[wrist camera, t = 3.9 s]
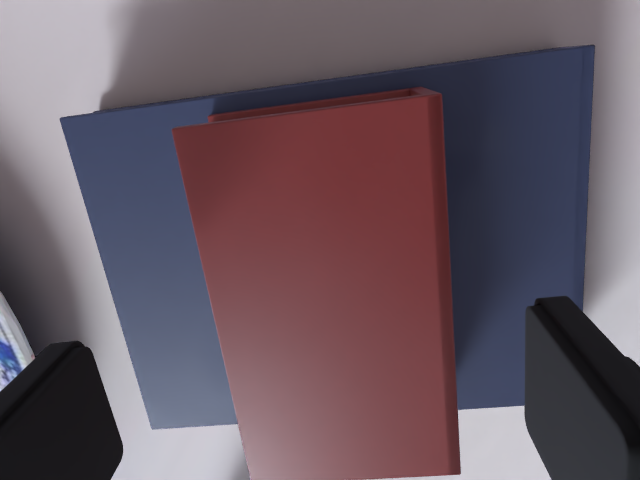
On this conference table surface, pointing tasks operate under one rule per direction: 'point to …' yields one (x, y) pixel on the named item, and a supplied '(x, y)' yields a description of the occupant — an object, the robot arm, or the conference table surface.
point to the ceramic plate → (12, 345)
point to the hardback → (463, 218)
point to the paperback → (331, 282)
